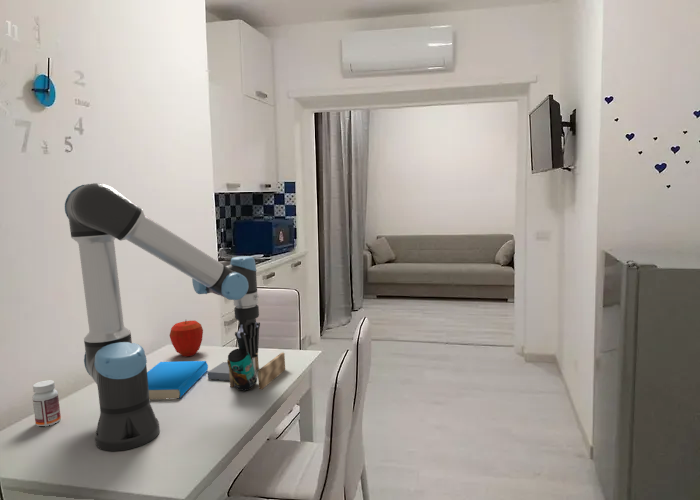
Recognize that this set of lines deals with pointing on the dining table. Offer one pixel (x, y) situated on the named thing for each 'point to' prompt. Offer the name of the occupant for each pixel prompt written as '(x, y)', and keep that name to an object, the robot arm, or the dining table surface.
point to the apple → (186, 337)
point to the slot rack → (267, 371)
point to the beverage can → (242, 369)
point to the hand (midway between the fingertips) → (251, 377)
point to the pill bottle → (46, 403)
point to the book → (174, 378)
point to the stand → (220, 372)
